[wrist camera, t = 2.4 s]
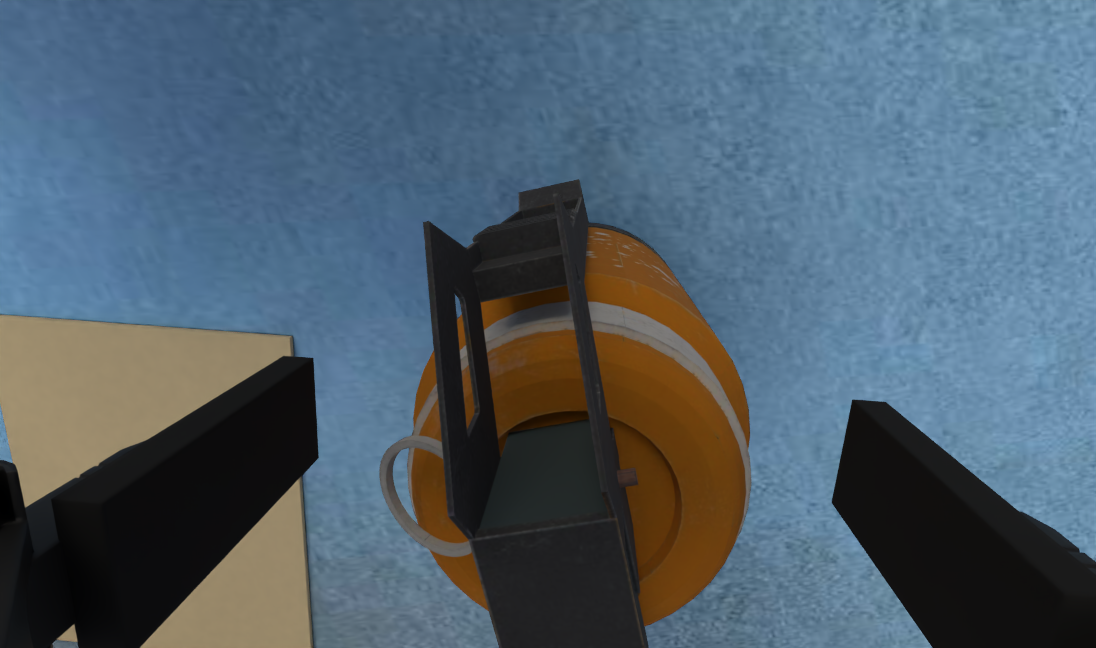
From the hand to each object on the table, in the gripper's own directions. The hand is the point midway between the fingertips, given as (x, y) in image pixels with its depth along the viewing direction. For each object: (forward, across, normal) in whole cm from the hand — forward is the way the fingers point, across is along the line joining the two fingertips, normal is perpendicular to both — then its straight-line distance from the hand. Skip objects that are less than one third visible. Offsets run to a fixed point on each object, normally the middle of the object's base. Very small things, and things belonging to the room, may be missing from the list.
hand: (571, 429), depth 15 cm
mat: (+14, -22, -13) cm, 29 cm away
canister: (+14, 0, 0) cm, 14 cm away
